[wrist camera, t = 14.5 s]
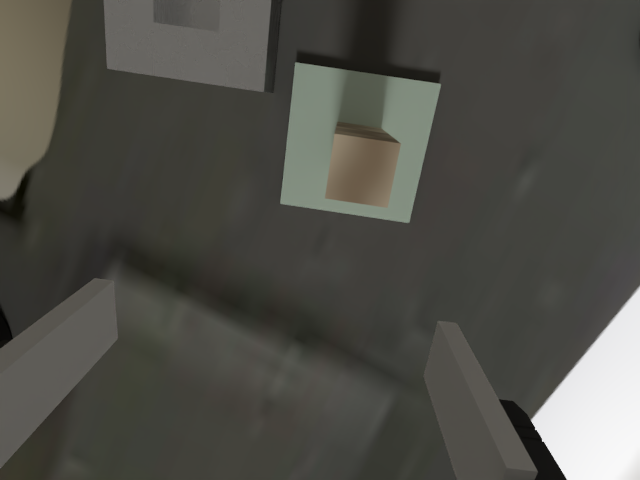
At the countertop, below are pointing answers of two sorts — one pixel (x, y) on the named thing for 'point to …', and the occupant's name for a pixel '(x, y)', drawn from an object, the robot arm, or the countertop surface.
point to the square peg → (362, 165)
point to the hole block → (196, 40)
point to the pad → (362, 109)
